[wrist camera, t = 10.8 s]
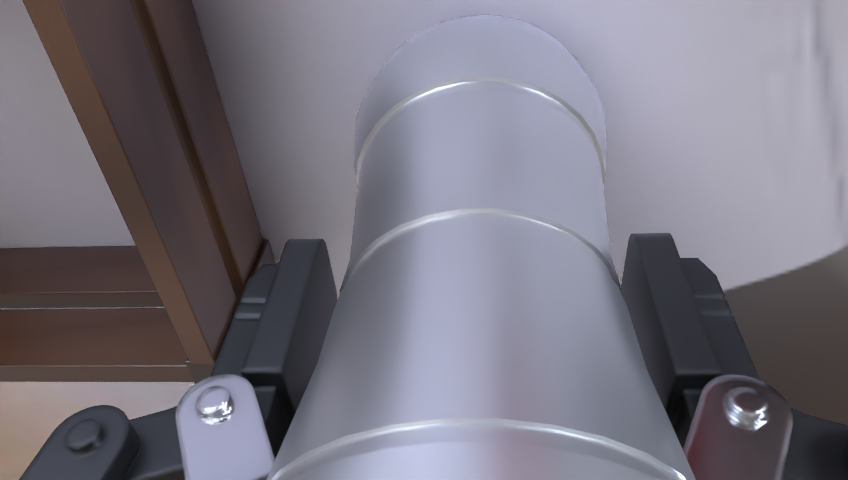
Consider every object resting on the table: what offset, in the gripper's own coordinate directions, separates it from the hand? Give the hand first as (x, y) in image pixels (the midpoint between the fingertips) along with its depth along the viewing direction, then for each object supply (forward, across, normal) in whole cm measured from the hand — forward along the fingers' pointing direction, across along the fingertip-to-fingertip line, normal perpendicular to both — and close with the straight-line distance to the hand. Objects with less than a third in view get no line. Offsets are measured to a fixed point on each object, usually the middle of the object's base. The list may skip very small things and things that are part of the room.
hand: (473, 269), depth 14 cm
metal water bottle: (+8, 0, 0) cm, 8 cm away
